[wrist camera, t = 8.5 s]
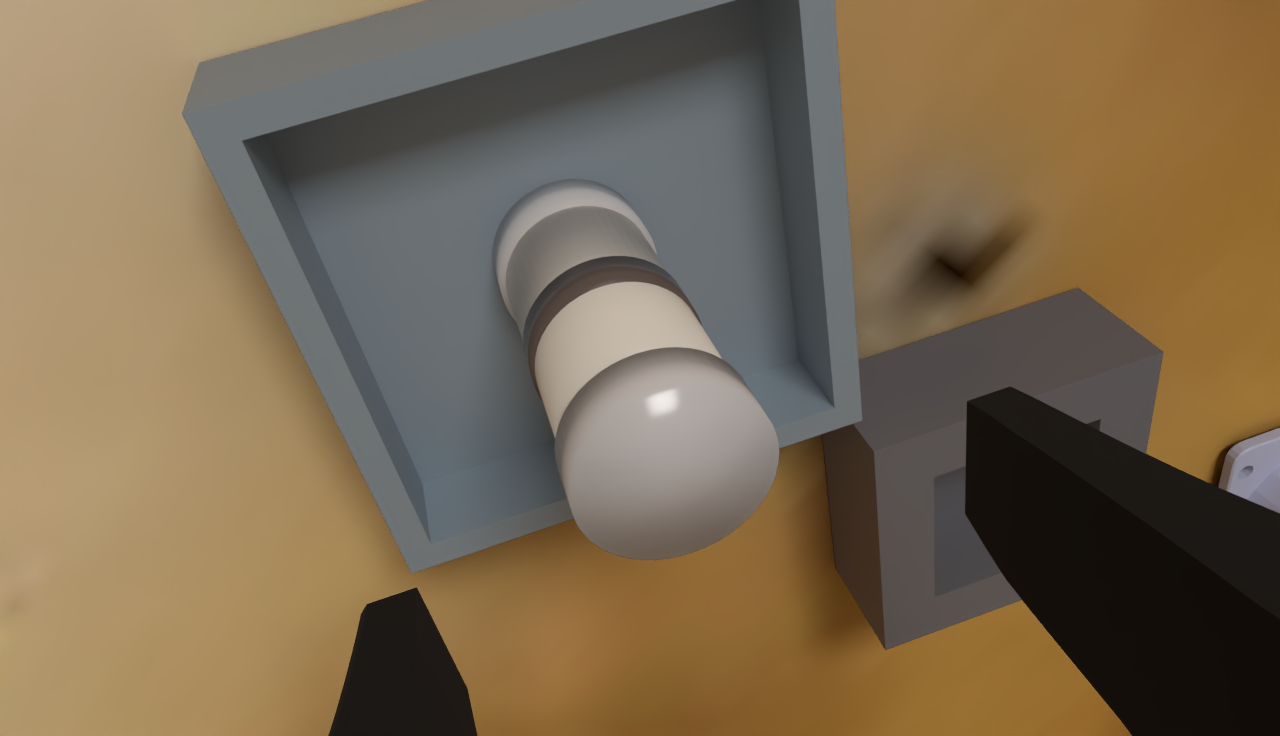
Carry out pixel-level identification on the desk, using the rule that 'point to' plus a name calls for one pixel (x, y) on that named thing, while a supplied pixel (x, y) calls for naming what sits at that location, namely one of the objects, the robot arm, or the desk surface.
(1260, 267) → the desk surface
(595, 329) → the fuse
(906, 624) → the grey square holder
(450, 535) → the parts tray
